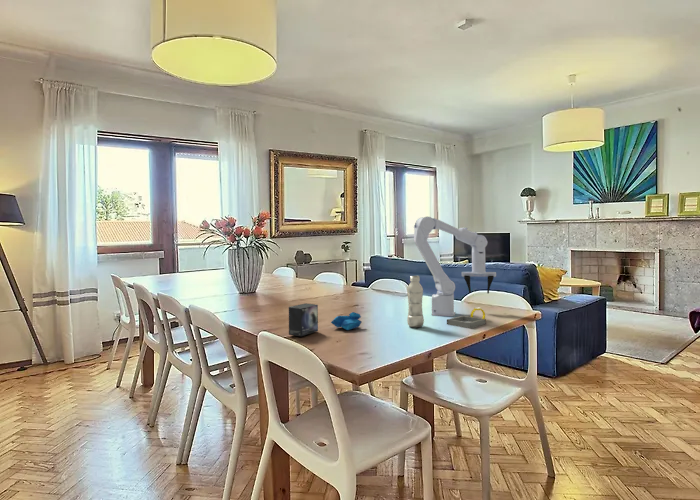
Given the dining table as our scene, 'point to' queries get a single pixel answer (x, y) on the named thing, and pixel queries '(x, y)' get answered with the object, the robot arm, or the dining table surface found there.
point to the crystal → (347, 321)
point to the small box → (303, 319)
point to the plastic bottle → (415, 303)
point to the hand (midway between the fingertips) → (478, 292)
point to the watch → (478, 309)
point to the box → (459, 322)
